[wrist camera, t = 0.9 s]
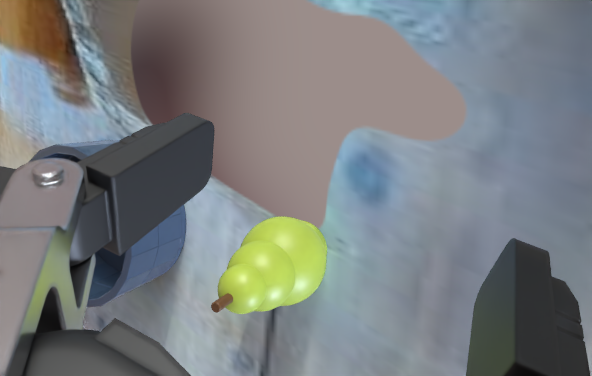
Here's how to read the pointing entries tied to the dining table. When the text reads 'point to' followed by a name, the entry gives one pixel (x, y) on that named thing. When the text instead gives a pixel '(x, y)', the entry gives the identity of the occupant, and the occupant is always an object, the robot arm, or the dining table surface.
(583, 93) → the dining table surface
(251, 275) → the pear
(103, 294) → the pot
